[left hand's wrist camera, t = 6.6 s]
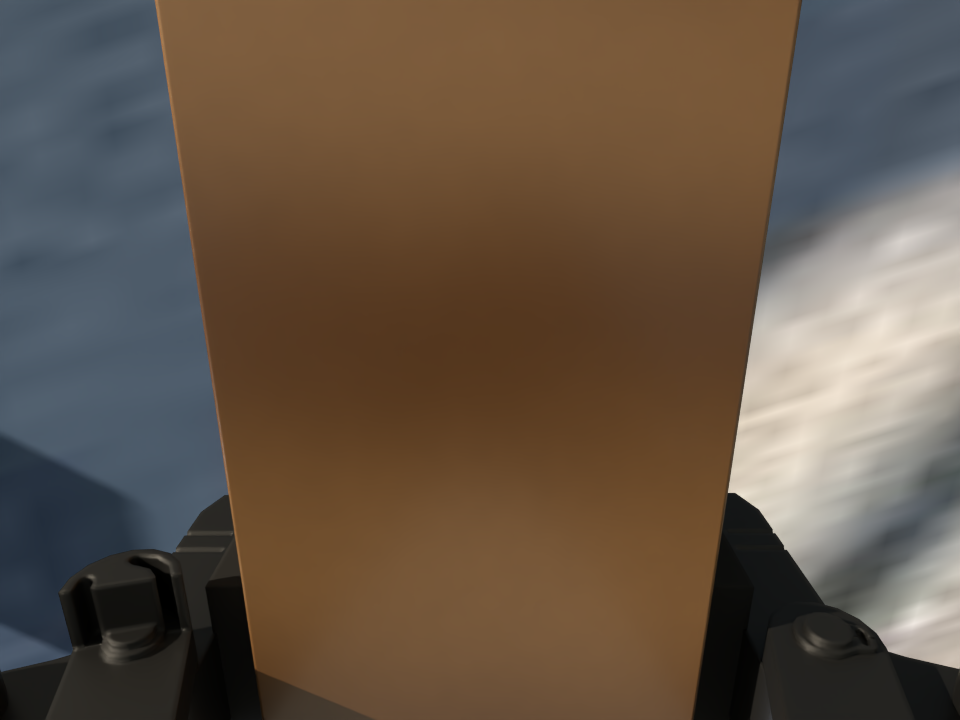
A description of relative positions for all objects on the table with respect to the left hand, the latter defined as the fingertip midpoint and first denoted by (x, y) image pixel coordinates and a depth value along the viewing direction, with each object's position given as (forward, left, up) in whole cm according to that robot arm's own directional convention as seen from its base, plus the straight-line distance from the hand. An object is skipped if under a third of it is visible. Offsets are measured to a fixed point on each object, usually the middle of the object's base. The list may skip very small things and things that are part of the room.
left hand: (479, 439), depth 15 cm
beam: (+8, +25, -1) cm, 26 cm away
